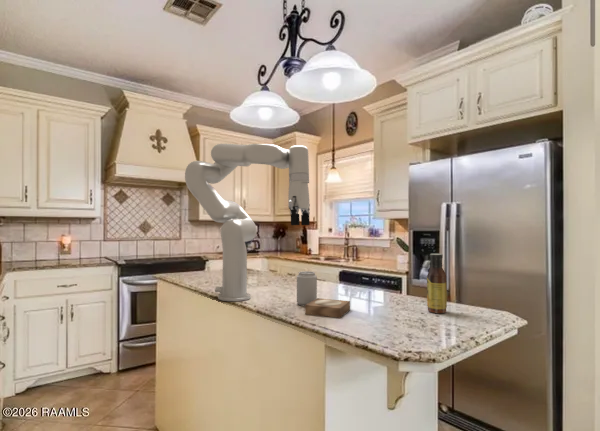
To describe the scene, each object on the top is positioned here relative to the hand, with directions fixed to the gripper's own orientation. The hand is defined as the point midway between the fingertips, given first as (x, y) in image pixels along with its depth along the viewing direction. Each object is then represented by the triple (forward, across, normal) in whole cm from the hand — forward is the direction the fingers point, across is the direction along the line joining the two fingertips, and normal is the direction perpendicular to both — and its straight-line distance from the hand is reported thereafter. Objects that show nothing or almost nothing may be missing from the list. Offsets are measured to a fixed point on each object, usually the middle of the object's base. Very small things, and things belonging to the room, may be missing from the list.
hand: (300, 225), depth 137 cm
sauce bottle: (+31, -8, +46) cm, 56 cm away
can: (+30, -1, +1) cm, 30 cm away
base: (+30, +7, +12) cm, 33 cm away
